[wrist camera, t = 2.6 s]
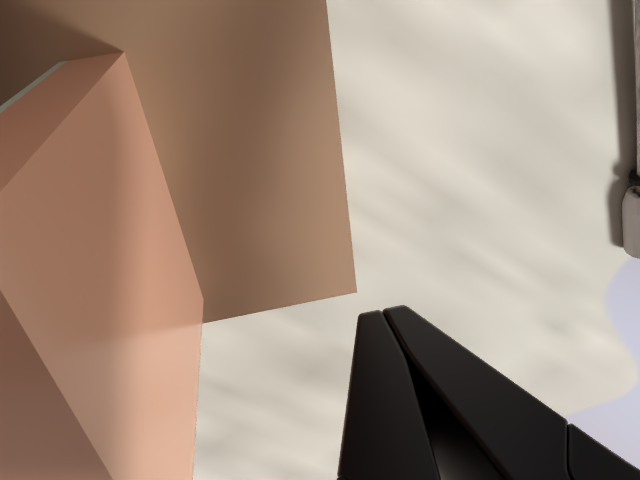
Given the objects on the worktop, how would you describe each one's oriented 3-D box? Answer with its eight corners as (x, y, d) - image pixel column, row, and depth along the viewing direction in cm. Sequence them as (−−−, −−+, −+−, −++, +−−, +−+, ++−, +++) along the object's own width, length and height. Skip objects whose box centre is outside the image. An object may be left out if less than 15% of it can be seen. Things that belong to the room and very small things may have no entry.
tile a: (155, 308, 17) (97, 622, 9) (59, 62, 12) (-209, 263, 5) (203, 299, 17) (186, 601, 9) (124, 51, 12) (-36, 230, 5)
